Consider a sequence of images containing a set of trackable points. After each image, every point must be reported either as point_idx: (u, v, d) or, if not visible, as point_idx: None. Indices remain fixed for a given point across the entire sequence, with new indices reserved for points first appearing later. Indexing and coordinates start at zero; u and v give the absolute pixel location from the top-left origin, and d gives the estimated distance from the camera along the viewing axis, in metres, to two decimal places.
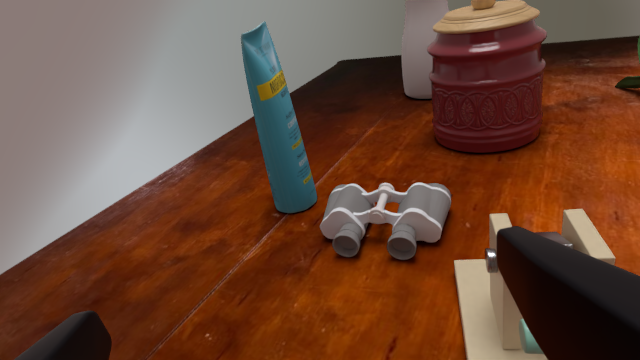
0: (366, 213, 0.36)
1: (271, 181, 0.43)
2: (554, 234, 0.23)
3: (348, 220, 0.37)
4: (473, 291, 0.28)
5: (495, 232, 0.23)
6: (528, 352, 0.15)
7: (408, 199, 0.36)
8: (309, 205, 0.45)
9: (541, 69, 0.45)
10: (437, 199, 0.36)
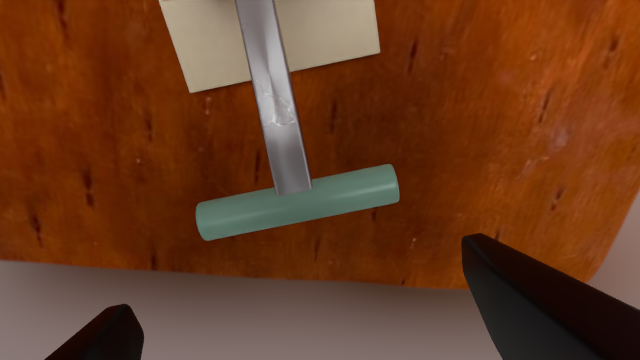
0: None
1: None
2: None
3: None
4: None
5: None
6: None
7: None
8: None
9: None
10: None
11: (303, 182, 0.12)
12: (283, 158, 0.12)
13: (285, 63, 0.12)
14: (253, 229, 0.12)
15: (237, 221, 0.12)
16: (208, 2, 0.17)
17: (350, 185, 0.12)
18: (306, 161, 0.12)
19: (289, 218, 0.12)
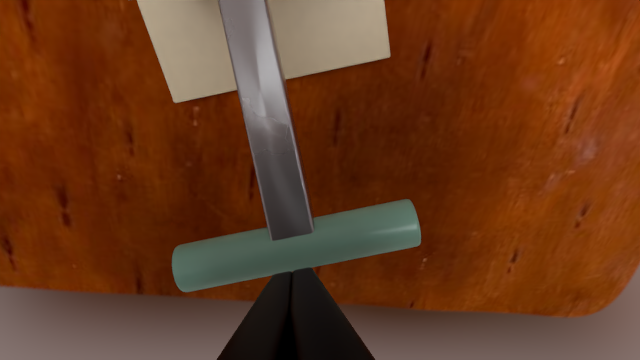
0: None
1: None
2: None
3: None
4: None
5: None
6: None
7: None
8: None
9: None
10: None
11: (303, 223, 0.10)
12: (278, 194, 0.10)
13: (281, 77, 0.09)
14: (242, 279, 0.10)
15: (222, 271, 0.10)
16: (193, 0, 0.15)
17: (361, 227, 0.10)
18: (307, 197, 0.10)
19: (285, 267, 0.10)
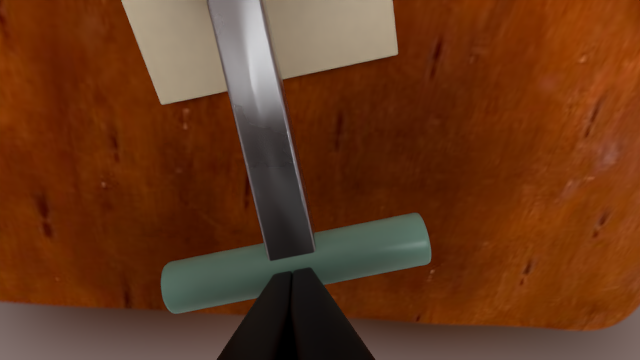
0: None
1: None
2: None
3: None
4: None
5: None
6: None
7: None
8: None
9: None
10: None
11: (303, 242, 0.09)
12: (276, 211, 0.09)
13: (277, 81, 0.08)
14: (238, 300, 0.09)
15: (216, 293, 0.09)
16: None
17: (366, 246, 0.09)
18: (307, 214, 0.09)
19: None
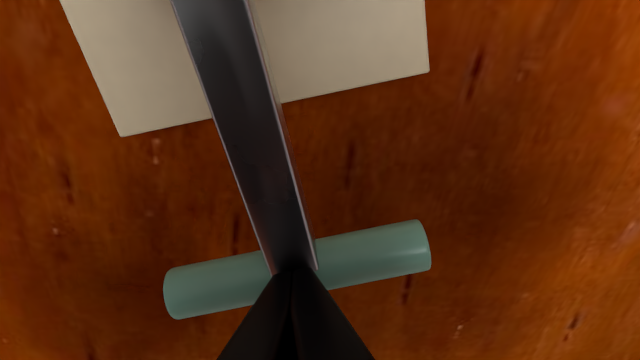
0: None
1: None
2: None
3: None
4: None
5: None
6: None
7: None
8: None
9: None
10: None
11: (307, 263, 0.09)
12: (279, 241, 0.08)
13: (277, 117, 0.07)
14: None
15: (222, 306, 0.09)
16: None
17: (369, 264, 0.09)
18: (311, 240, 0.09)
19: None
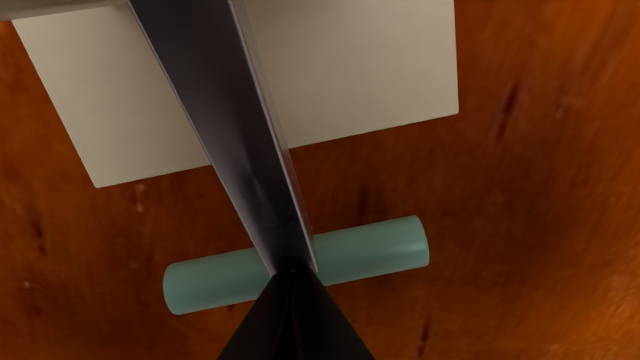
0: None
1: None
2: None
3: None
4: None
5: None
6: None
7: None
8: None
9: None
10: None
11: None
12: (280, 254, 0.08)
13: (280, 155, 0.06)
14: None
15: (223, 303, 0.09)
16: (114, 19, 0.08)
17: (369, 265, 0.09)
18: (312, 250, 0.08)
19: None
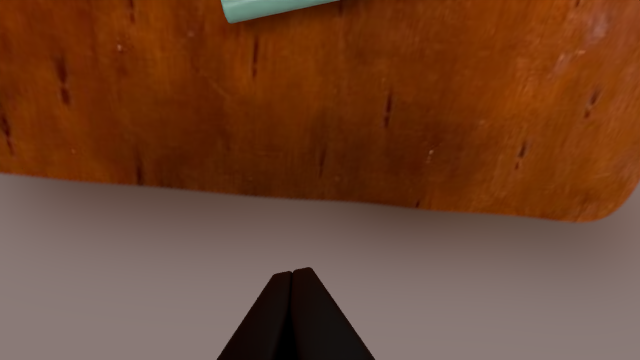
0: None
1: None
2: None
3: None
4: None
5: None
6: None
7: None
8: None
9: None
10: None
11: None
12: None
13: None
14: (267, 15, 0.16)
15: (256, 11, 0.16)
16: None
17: None
18: None
19: (295, 8, 0.16)
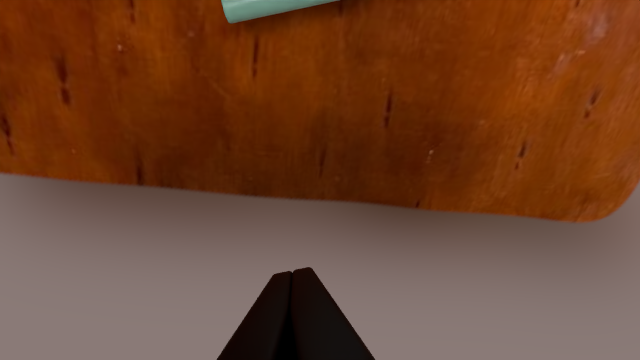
0: None
1: None
2: None
3: None
4: None
5: None
6: None
7: None
8: None
9: None
10: None
11: None
12: None
13: None
14: (267, 15, 0.16)
15: (256, 11, 0.16)
16: None
17: None
18: None
19: (295, 8, 0.16)
